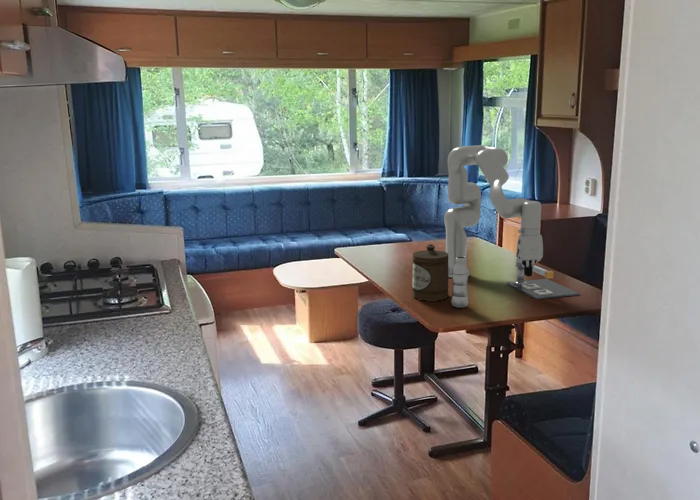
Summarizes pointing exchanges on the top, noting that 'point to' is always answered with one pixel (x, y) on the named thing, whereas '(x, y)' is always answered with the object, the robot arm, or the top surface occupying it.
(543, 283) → the board
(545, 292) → the label plate
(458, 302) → the plastic bottle
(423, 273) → the wooden container
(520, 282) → the grey metal rounded piece
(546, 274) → the bar
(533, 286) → the label plate
